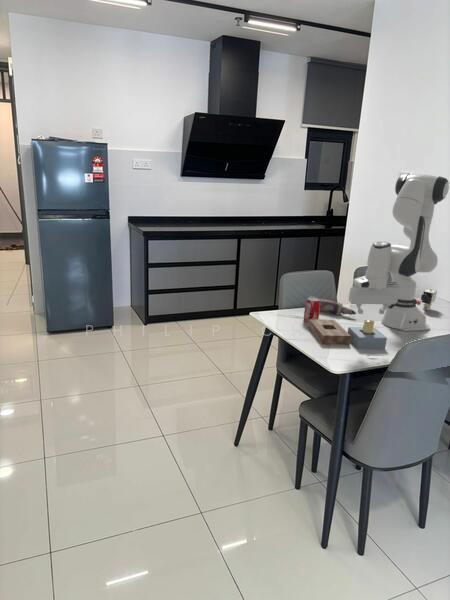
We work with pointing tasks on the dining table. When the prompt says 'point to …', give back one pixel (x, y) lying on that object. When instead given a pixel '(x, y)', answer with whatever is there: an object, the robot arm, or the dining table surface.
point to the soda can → (312, 309)
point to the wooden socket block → (329, 332)
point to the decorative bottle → (334, 307)
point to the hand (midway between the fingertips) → (370, 313)
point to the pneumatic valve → (428, 298)
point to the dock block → (367, 338)
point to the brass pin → (368, 327)
